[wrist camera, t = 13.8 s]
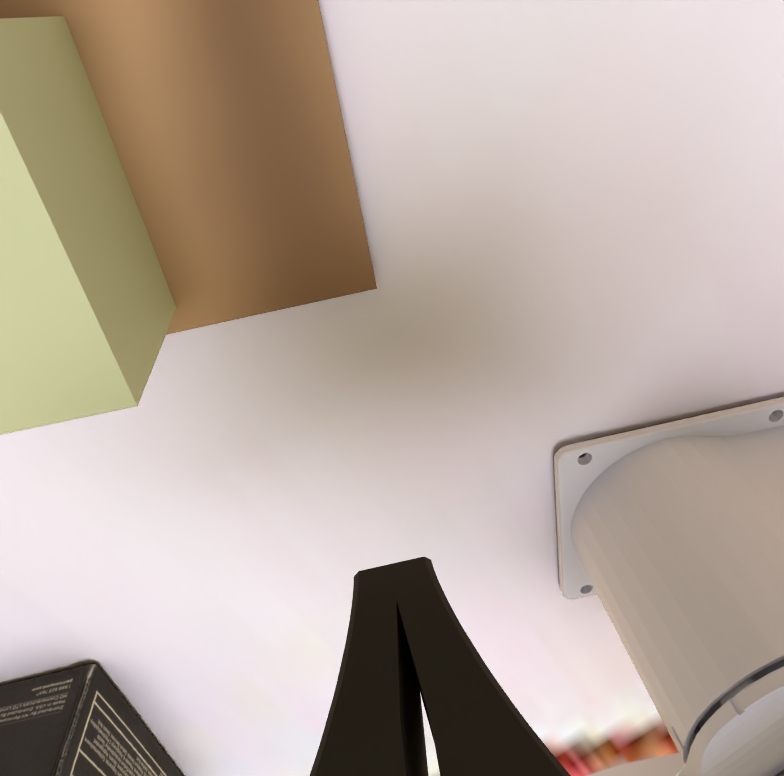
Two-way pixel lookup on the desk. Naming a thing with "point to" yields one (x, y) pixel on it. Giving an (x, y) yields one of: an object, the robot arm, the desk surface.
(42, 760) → the small box
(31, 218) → the sage book
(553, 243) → the desk surface
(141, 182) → the walnut board
